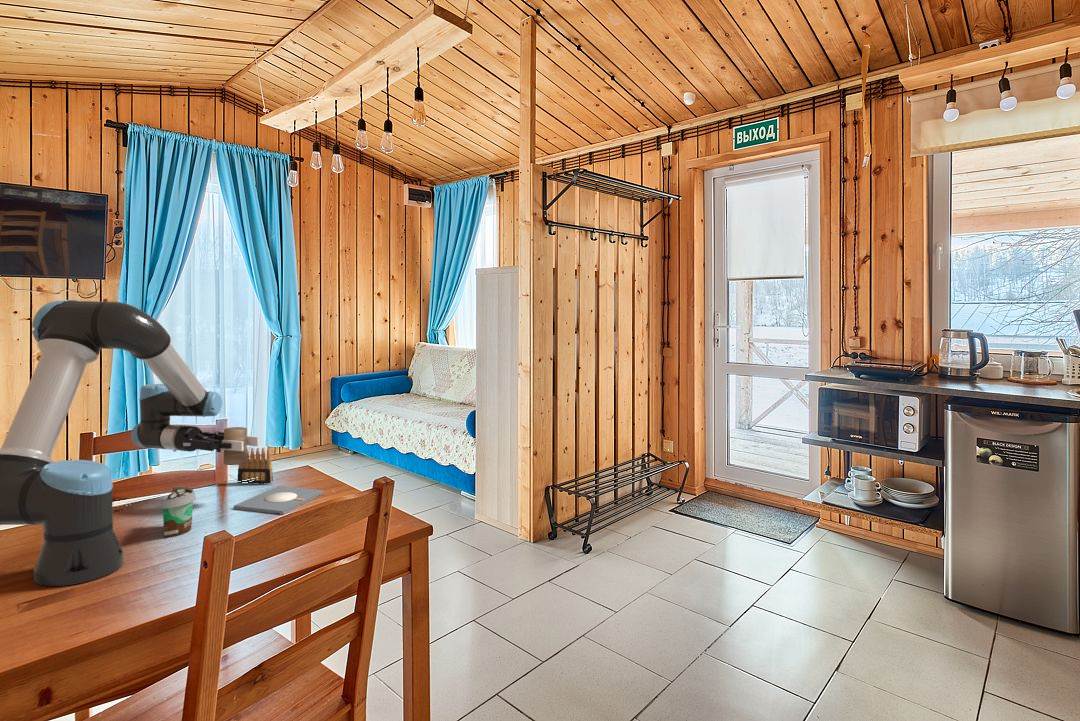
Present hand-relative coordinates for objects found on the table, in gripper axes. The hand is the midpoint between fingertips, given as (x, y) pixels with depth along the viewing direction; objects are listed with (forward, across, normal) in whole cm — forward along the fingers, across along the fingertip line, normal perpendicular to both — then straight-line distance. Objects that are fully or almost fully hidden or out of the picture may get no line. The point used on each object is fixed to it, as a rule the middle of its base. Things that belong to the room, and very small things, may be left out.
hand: (250, 443), depth 168 cm
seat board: (+7, -5, -18) cm, 20 cm away
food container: (-3, +22, -18) cm, 29 cm away
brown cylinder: (-5, 0, -6) cm, 8 cm away
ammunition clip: (-12, -18, -18) cm, 28 cm away
